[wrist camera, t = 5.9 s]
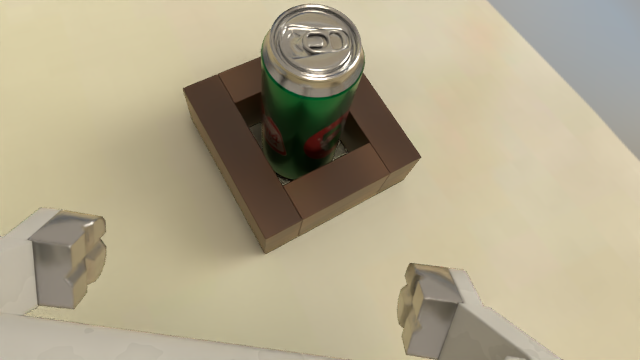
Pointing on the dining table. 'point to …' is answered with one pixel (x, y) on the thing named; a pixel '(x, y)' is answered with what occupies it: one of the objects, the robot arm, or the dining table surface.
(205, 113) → the can holder
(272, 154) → the soda can
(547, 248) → the dining table surface
